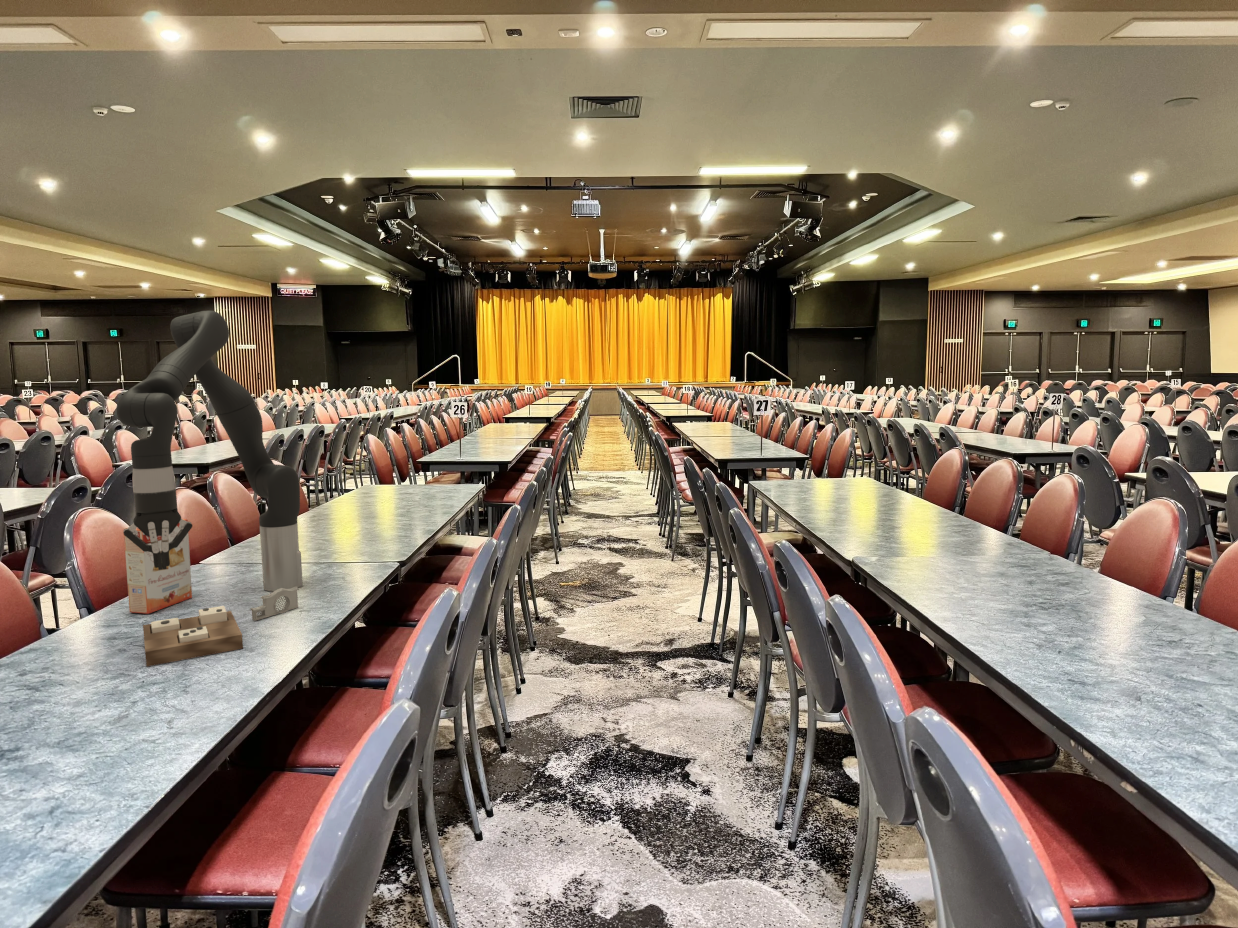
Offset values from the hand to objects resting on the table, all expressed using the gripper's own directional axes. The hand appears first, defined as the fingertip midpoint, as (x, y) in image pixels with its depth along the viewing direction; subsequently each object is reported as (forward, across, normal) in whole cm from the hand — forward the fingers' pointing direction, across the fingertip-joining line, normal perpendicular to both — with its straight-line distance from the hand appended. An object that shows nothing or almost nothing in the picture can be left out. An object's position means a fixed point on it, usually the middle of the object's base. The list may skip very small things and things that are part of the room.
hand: (162, 568), depth 156 cm
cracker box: (+16, 0, -30) cm, 34 cm away
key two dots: (+14, -9, 0) cm, 17 cm away
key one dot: (+15, 0, 0) cm, 15 cm away
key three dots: (+15, -4, +10) cm, 19 cm away
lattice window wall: (+16, -22, -6) cm, 28 cm away
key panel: (+16, -4, +5) cm, 17 cm away
